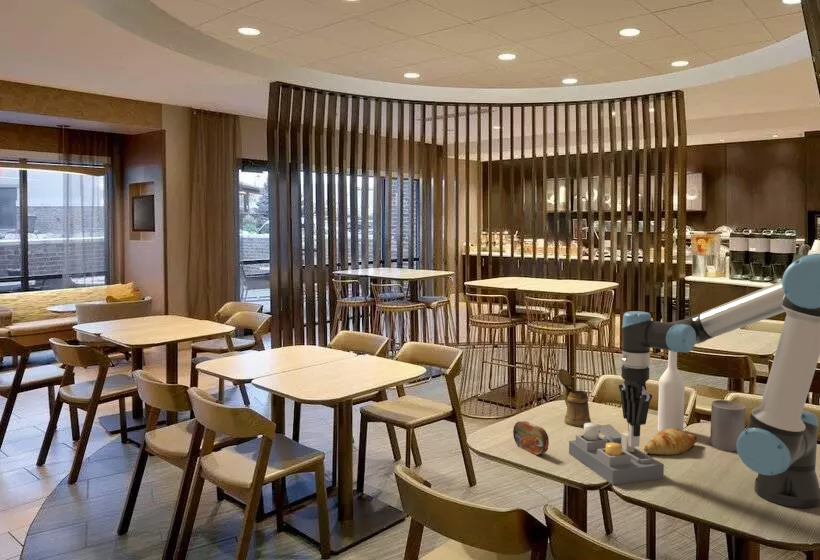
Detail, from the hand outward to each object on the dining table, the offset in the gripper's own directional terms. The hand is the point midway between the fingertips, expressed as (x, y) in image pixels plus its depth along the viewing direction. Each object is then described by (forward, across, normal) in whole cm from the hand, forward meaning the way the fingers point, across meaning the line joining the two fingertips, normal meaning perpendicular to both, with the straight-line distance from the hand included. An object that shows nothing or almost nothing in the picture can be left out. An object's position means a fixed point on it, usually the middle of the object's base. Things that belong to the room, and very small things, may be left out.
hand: (633, 445), depth 182 cm
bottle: (+7, -25, +31) cm, 40 cm away
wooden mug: (+7, -44, +5) cm, 44 cm away
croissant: (+7, -10, +20) cm, 24 cm away
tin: (+7, -22, -22) cm, 32 cm away
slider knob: (+3, -3, 0) cm, 4 cm away
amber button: (+2, +2, -8) cm, 9 cm away
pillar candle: (+7, -8, +39) cm, 40 cm away
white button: (0, -9, -8) cm, 12 cm away
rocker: (+1, -12, 0) cm, 12 cm away
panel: (+7, -4, -4) cm, 9 cm away
